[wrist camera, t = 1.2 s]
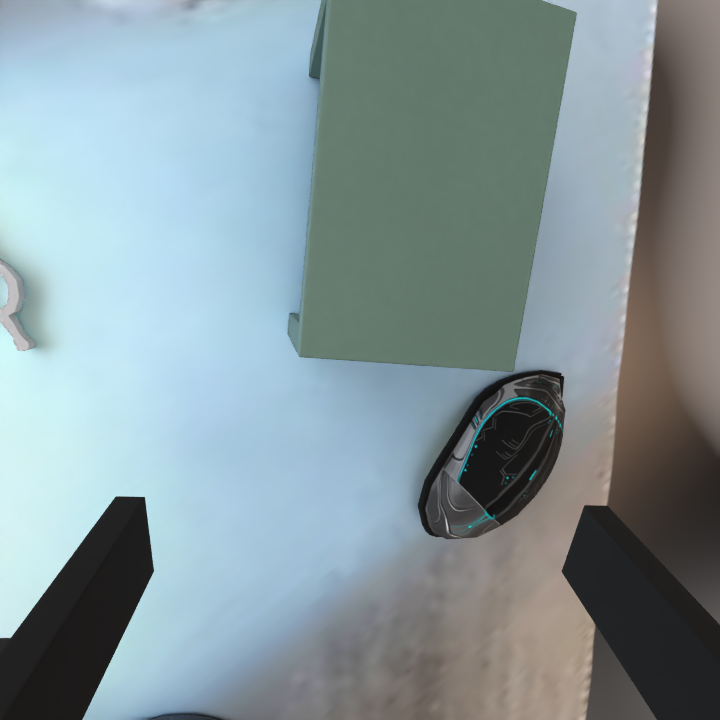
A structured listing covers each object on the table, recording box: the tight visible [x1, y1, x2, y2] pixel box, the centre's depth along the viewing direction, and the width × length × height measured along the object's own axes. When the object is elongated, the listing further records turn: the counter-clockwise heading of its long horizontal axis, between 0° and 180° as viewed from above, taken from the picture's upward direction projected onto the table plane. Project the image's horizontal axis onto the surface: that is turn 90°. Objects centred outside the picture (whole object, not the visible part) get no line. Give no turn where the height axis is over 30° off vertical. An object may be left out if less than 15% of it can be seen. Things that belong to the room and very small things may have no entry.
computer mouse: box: [418, 370, 565, 539], centre depth 31 cm, size 9×17×6 cm, turn 133°
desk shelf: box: [288, 0, 577, 372], centre depth 24 cm, size 18×12×9 cm, turn 173°
